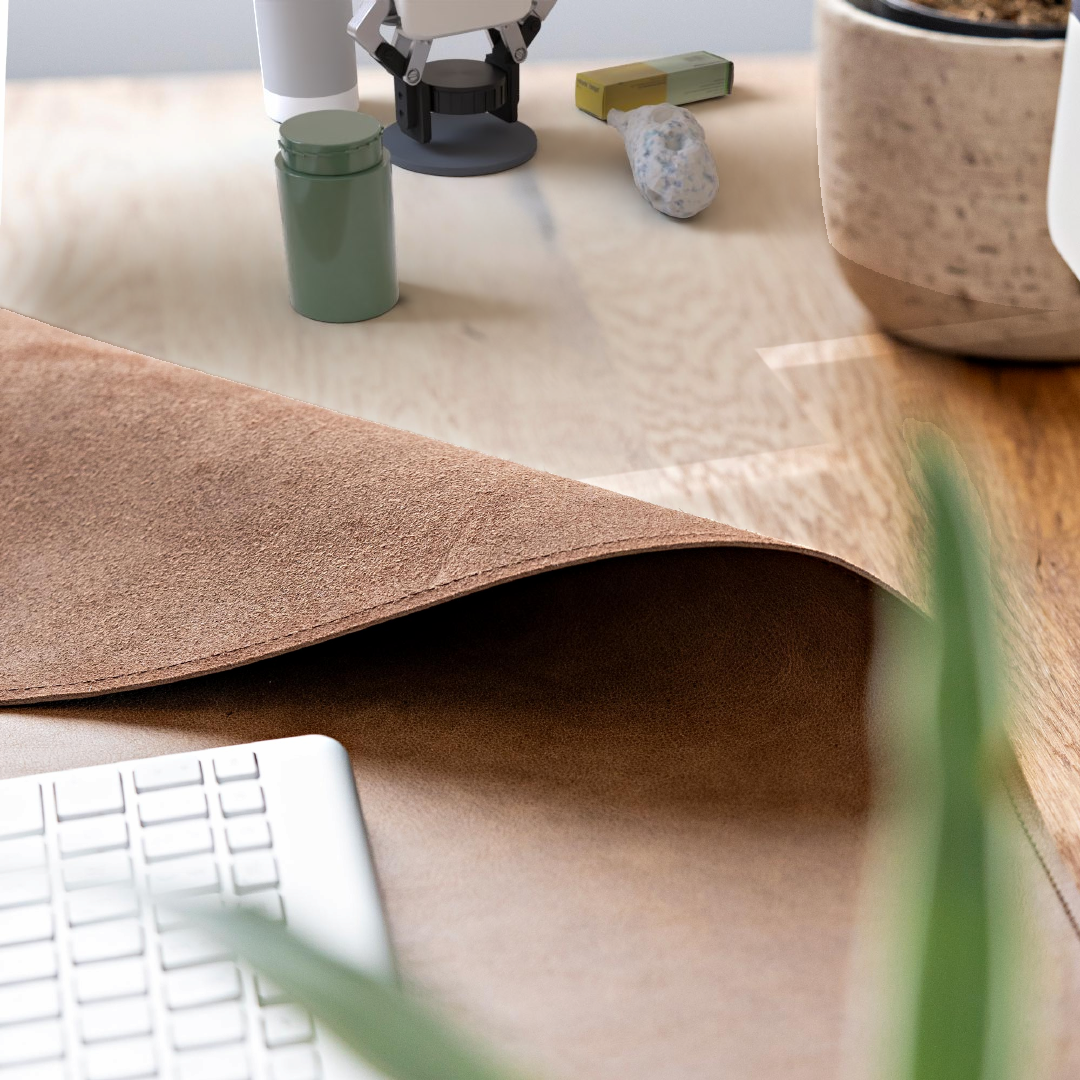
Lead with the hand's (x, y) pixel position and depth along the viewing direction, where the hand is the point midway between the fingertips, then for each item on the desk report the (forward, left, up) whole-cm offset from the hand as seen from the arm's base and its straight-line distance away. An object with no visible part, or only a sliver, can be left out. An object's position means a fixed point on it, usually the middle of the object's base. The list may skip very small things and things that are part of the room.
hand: (459, 124), depth 89 cm
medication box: (+17, +3, 0) cm, 17 cm away
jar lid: (0, 0, +3) cm, 3 cm away
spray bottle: (-9, +9, -2) cm, 13 cm away
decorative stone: (+12, -10, -2) cm, 16 cm away
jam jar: (-11, -21, -2) cm, 24 cm away
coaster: (0, 0, -2) cm, 2 cm away
